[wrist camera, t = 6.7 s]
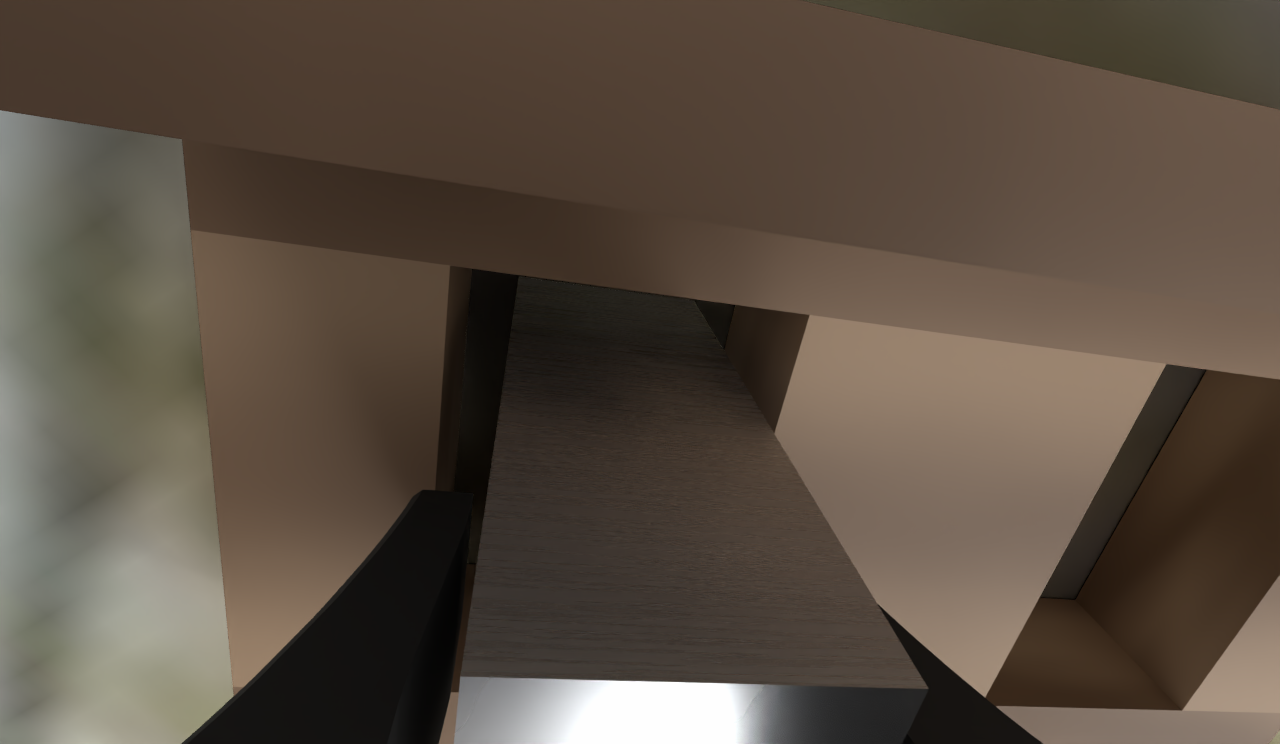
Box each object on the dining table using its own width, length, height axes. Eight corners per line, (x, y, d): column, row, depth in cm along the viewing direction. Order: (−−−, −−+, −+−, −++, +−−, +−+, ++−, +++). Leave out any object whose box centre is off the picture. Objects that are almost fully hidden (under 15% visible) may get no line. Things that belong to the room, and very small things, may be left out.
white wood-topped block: (631, 577, 14) (719, 1121, 7) (486, 570, 13) (414, 1151, 6) (693, 300, 12) (929, 690, 4) (519, 275, 11) (458, 676, 4)
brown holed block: (1142, 650, 17) (1417, 926, 12) (302, 613, 13) (133, 988, 8) (1437, 196, 12) (2119, 301, 7) (281, -47, 9) (-156, -218, 3)
